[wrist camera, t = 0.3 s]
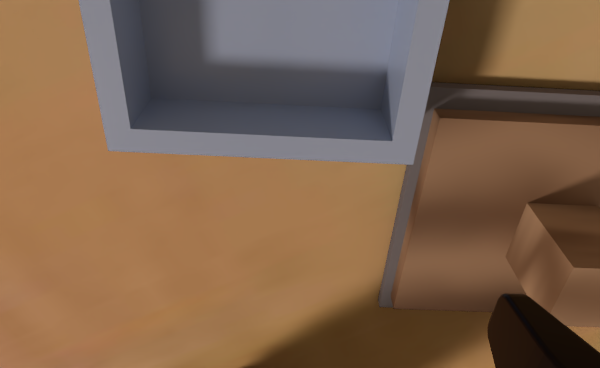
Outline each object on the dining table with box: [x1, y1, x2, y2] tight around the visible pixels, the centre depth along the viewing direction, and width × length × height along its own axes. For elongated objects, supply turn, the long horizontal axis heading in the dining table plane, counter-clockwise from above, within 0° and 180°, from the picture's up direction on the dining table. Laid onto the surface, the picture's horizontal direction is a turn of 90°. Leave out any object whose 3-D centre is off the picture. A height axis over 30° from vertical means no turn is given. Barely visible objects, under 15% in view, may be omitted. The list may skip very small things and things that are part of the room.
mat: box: [378, 82, 600, 307], centre depth 24 cm, size 14×15×1 cm
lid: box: [391, 109, 600, 327], centre depth 22 cm, size 12×14×6 cm
